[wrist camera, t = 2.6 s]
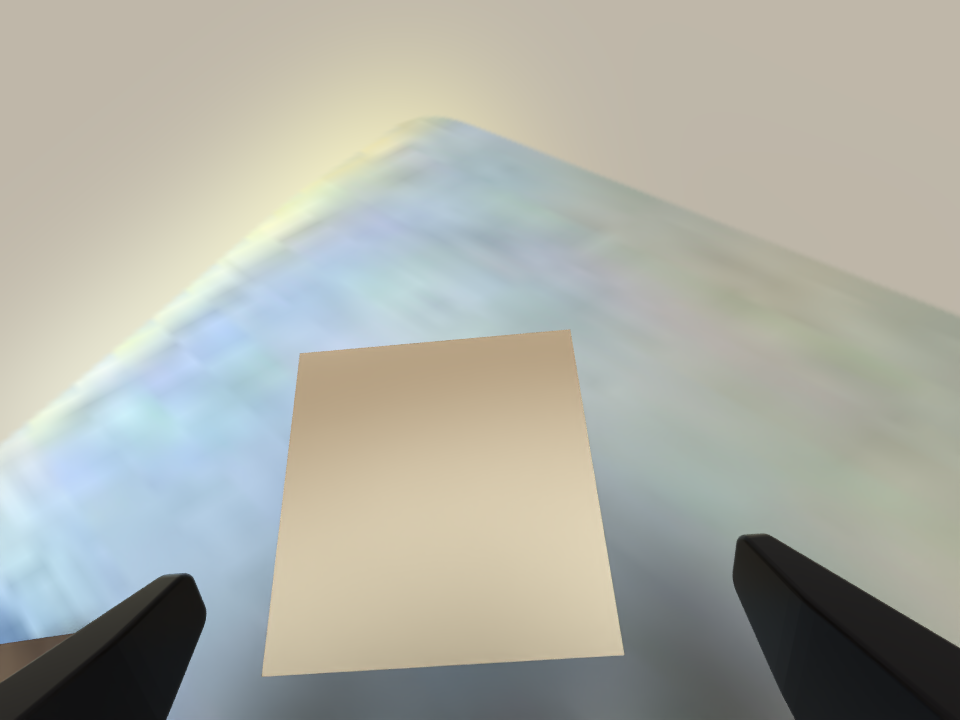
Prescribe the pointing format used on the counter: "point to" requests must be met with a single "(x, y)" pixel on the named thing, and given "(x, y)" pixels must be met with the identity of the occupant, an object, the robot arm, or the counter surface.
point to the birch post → (439, 511)
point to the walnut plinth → (24, 653)
